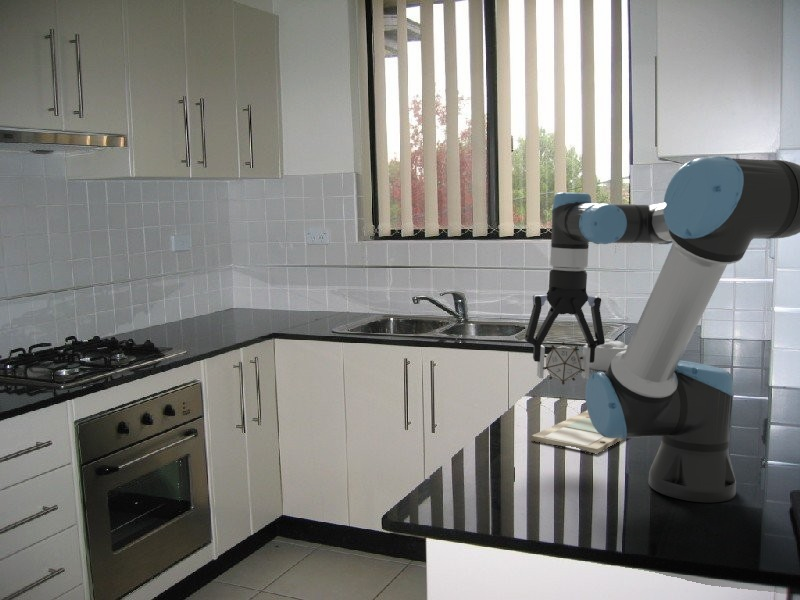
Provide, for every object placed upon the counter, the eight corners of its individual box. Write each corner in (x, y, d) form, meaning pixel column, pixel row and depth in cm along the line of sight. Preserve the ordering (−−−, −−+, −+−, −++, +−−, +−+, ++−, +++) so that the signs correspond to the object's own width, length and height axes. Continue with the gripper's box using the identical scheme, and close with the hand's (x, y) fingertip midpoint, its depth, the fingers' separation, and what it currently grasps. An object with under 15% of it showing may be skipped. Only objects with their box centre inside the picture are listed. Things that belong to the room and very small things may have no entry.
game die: (557, 397, 177) (557, 354, 182) (593, 389, 172) (592, 345, 177) (533, 381, 171) (534, 337, 176) (569, 372, 166) (569, 327, 171)
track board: (596, 454, 173) (597, 448, 173) (531, 440, 182) (531, 435, 182) (655, 421, 201) (655, 416, 201) (596, 410, 210) (596, 405, 210)
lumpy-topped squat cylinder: (625, 372, 259) (627, 344, 258) (582, 368, 263) (584, 341, 262) (627, 366, 269) (628, 339, 268) (585, 363, 273) (587, 336, 272)
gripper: (614, 268, 176) (608, 374, 179) (512, 265, 175) (508, 372, 178) (626, 271, 168) (619, 382, 171) (519, 269, 167) (514, 380, 170)
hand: (562, 377), depth 174 cm, fingers closed on game die, 9 cm apart
